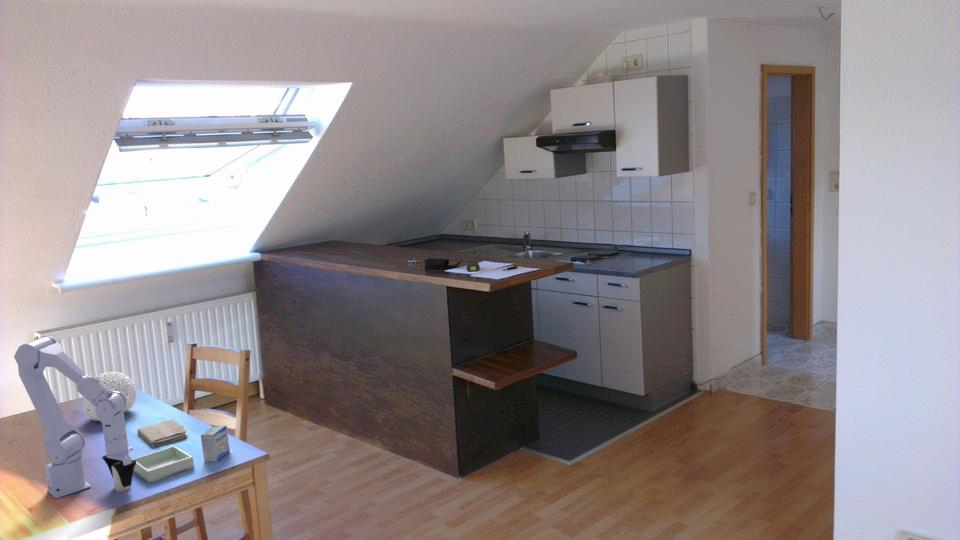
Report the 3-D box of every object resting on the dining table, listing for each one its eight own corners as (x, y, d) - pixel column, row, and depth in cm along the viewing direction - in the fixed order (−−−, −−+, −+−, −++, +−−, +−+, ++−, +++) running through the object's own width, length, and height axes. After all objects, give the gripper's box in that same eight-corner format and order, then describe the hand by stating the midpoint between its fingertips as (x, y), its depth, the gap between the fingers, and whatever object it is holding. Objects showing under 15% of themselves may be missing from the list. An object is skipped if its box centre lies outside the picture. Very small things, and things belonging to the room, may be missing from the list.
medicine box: (217, 462, 239) (213, 435, 237) (203, 461, 240) (200, 434, 238) (230, 451, 247) (227, 425, 245) (217, 451, 248) (213, 424, 246)
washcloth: (153, 449, 253) (152, 440, 253) (136, 435, 267) (135, 426, 266) (190, 438, 261) (189, 430, 260) (172, 425, 274) (170, 416, 274)
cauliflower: (94, 385, 295) (102, 356, 286) (141, 401, 299) (150, 373, 290) (69, 425, 279) (77, 396, 270) (119, 442, 283) (129, 413, 274)
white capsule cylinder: (118, 493, 222) (114, 469, 220) (112, 488, 225) (109, 465, 223) (133, 487, 224) (130, 464, 223) (128, 483, 228) (124, 460, 226)
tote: (149, 483, 227) (147, 471, 226) (132, 470, 237) (130, 459, 236) (194, 467, 236) (192, 456, 235) (176, 456, 245) (174, 445, 245)
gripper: (139, 438, 219) (146, 484, 222) (121, 426, 230) (127, 470, 232) (113, 446, 215) (120, 493, 217) (95, 433, 225) (102, 478, 227)
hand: (122, 482), depth 224 cm, fingers open, 7 cm apart
